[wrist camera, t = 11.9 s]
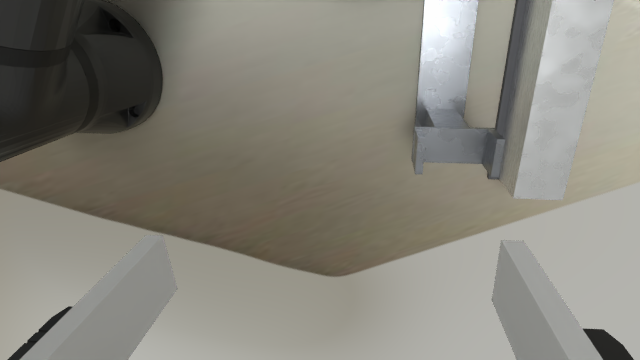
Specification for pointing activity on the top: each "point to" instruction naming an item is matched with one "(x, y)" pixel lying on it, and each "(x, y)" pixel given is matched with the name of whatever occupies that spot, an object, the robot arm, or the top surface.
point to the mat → (510, 67)
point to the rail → (550, 94)
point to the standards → (449, 91)
